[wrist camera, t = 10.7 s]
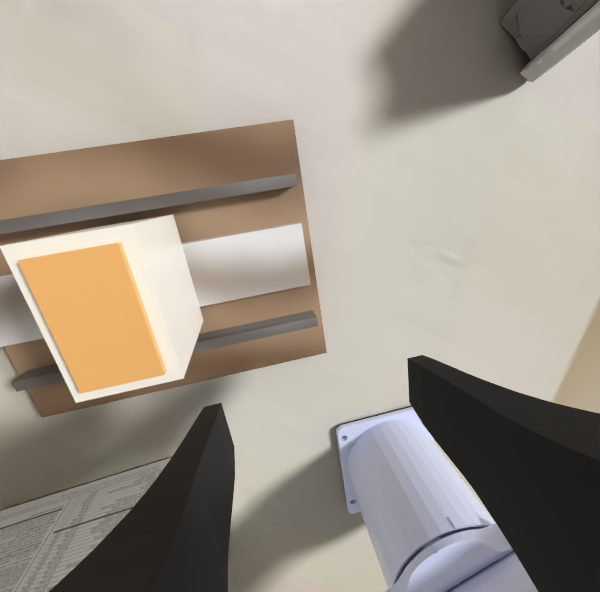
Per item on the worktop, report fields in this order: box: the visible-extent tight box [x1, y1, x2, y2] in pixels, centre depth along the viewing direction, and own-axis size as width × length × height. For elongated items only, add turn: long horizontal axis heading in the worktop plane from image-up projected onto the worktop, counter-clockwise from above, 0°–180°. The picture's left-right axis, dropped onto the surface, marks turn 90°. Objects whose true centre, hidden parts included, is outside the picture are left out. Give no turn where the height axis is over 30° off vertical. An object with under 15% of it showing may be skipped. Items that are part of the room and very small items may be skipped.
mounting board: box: [0, 120, 327, 417], centre depth 17 cm, size 14×18×2 cm
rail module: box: [0, 215, 203, 403], centre depth 13 cm, size 6×4×6 cm, turn 9°
